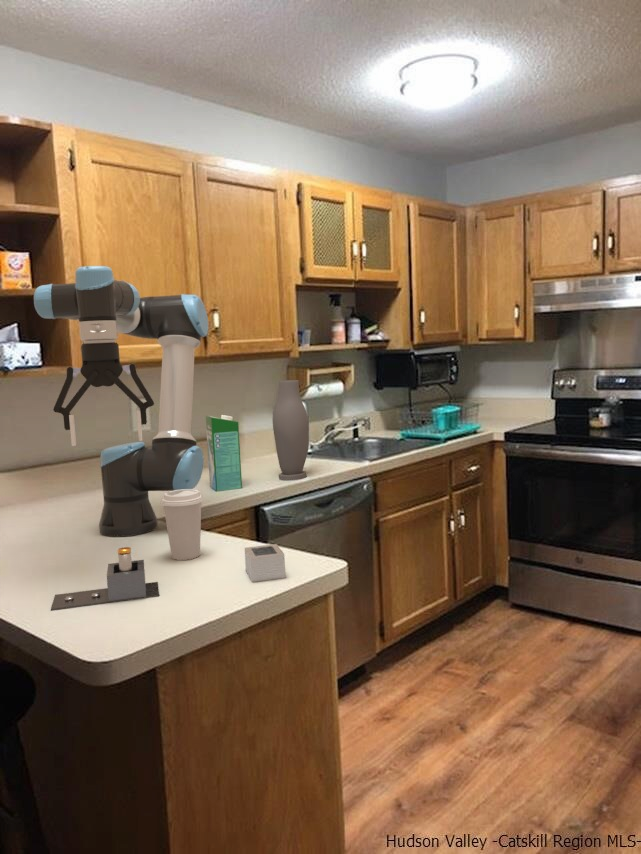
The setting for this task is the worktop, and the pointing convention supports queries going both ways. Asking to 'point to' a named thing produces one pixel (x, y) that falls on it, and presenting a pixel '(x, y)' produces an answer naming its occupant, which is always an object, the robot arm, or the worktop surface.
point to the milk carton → (223, 453)
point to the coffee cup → (183, 522)
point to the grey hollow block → (126, 581)
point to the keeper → (101, 594)
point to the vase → (290, 431)
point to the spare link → (265, 562)
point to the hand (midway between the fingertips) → (107, 442)
